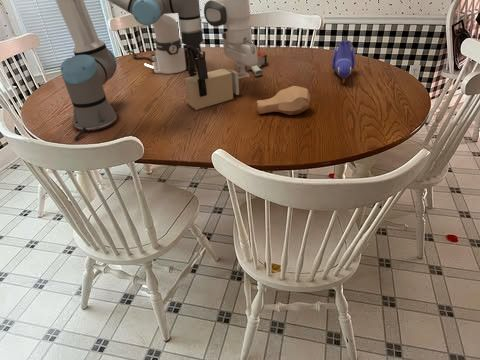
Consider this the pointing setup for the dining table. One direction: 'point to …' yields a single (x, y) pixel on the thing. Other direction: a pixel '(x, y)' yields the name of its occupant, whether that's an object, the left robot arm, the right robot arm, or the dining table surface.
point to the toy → (343, 59)
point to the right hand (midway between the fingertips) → (241, 71)
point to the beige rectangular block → (210, 89)
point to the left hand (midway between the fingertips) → (199, 92)
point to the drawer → (235, 80)
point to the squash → (286, 101)
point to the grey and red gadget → (259, 63)
